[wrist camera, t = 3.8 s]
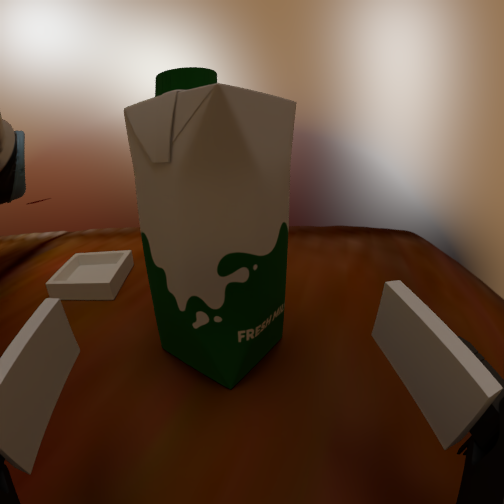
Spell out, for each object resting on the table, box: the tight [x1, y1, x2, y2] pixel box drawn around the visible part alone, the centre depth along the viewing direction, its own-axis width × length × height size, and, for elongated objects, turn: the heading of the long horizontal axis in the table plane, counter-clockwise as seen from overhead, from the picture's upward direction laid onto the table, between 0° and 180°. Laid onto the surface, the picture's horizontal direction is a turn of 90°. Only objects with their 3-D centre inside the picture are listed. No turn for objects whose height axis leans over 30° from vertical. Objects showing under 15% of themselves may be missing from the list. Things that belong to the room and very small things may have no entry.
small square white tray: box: [46, 250, 134, 300], centre depth 31 cm, size 9×9×2 cm
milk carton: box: [124, 67, 296, 389], centre depth 18 cm, size 9×9×20 cm
